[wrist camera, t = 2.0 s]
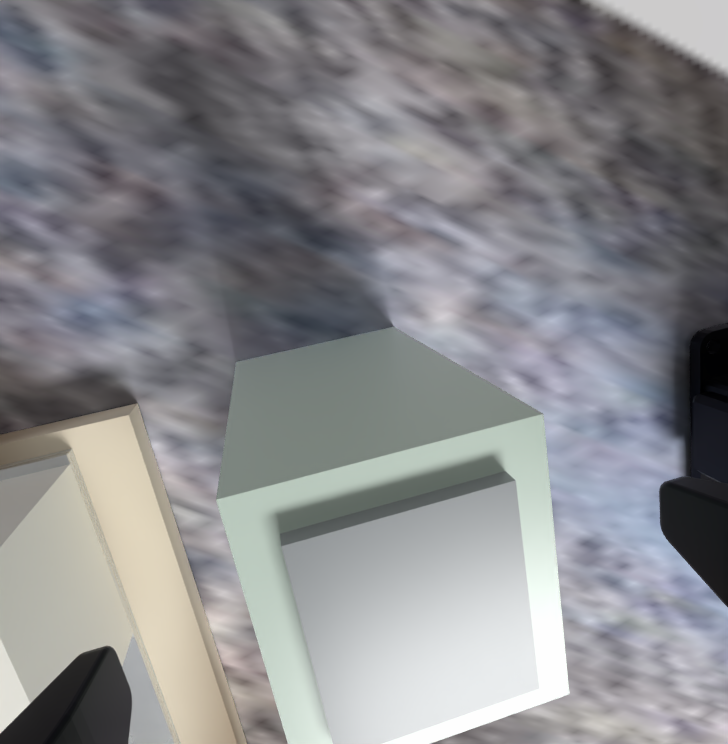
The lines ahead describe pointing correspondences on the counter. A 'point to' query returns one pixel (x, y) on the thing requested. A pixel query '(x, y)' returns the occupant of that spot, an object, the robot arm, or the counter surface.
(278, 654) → the loose module
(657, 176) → the counter surface
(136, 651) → the grey flat piece
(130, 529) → the mounting panel
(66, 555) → the mounted modules
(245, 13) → the counter surface
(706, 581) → the robot arm
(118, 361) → the counter surface
